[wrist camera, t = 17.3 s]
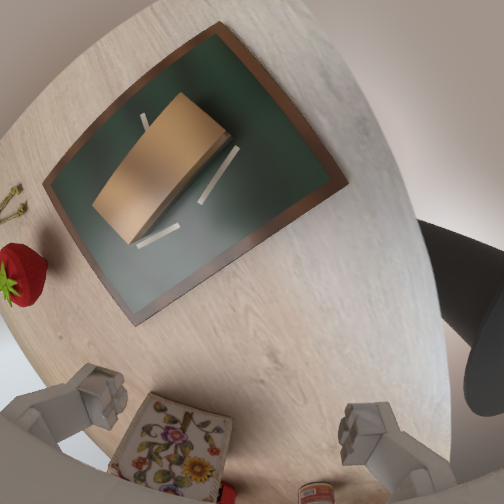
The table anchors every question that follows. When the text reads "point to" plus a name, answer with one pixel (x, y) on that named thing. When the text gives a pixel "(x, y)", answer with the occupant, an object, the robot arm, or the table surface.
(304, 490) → the pill bottle
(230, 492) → the canned food
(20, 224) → the table surface
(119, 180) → the eraser
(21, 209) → the tongs
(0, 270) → the strawberry
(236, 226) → the chalkboard
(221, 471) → the decorative jar
